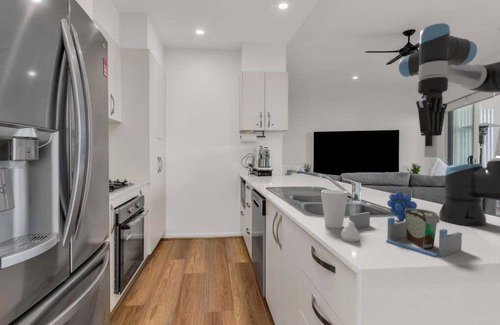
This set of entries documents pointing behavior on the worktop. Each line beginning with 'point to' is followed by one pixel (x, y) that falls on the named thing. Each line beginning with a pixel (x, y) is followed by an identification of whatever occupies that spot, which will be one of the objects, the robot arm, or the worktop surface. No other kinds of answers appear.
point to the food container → (421, 227)
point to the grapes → (400, 204)
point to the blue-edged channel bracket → (398, 230)
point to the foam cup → (334, 207)
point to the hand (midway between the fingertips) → (430, 157)
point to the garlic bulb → (350, 233)
